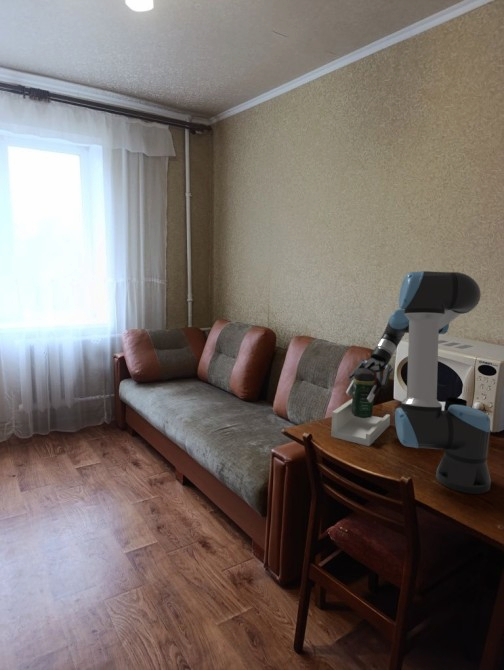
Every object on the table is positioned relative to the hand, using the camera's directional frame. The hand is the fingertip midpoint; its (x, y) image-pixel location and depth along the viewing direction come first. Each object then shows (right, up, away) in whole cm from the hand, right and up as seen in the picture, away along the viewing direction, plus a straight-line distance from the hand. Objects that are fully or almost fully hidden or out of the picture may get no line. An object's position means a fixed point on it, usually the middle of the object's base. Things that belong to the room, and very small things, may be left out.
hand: (358, 397), depth 170 cm
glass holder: (+38, -16, -3) cm, 42 cm away
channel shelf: (+2, -14, +4) cm, 15 cm away
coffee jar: (+2, -8, +3) cm, 9 cm away
